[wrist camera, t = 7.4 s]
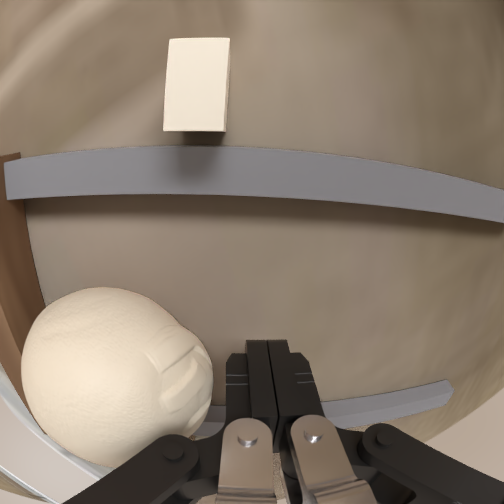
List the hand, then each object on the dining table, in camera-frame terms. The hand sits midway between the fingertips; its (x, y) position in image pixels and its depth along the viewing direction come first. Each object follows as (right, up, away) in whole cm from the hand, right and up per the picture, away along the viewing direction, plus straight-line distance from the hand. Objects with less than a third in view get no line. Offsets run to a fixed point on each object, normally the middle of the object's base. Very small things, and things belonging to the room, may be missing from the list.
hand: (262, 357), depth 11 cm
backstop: (-12, +1, +1) cm, 12 cm away
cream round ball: (-6, +1, +2) cm, 6 cm away
